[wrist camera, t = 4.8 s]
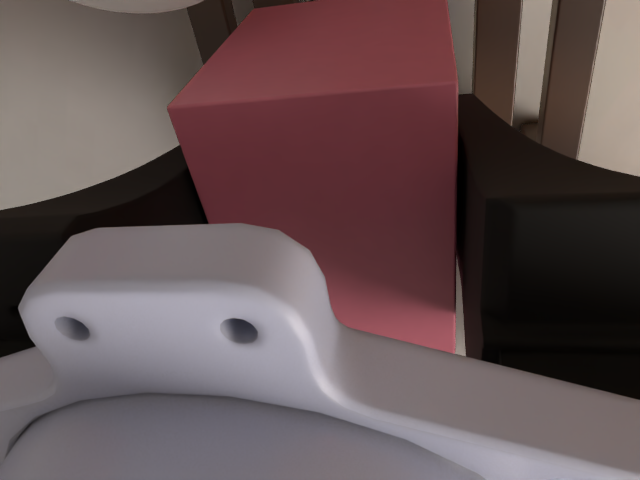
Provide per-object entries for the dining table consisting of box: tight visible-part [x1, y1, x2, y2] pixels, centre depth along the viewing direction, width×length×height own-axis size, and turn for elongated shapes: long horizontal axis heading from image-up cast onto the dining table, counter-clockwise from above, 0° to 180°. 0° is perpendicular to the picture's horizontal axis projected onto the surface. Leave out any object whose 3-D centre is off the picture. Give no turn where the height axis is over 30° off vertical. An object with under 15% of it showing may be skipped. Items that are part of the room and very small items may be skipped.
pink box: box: [167, 0, 458, 354], centre depth 12 cm, size 6×4×6 cm
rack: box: [187, 0, 606, 160], centre depth 17 cm, size 12×12×4 cm
